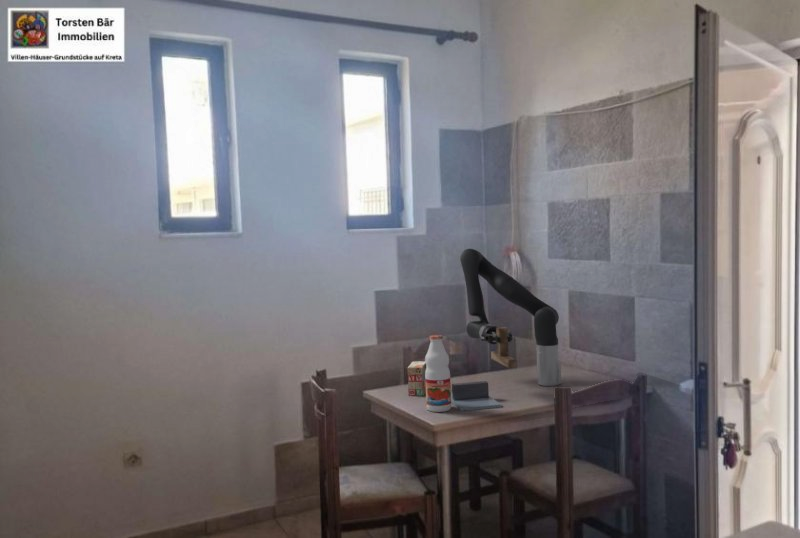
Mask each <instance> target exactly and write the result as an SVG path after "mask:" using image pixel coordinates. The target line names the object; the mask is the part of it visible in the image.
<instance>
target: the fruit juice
mask: <svg viewBox="0 0 800 538" xmlns="http://www.w3.org/2000/svg"><path fill="white" fill-rule="evenodd" d="M443 339H444V337H443V335H442V334H431V335H429V341H430V343H429V346H428V348H427V349H428V350H427V353H426V354H425V357H424V361H425V363H426V366H427V368H426V371H425V382H426V393H425V402H426V405H425V406H426V410H427V411H429V412H432V413H442V412H448V411H450V410H451V409H452V403H451V392H452V385H451V372H450V368H449V362H450V357H449V354H448V353H447V351H446V349H445V346H444V343H443Z"/></svg>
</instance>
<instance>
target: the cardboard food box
mask: <svg viewBox="0 0 800 538" xmlns="http://www.w3.org/2000/svg"><path fill="white" fill-rule="evenodd" d="M426 368H427V366H426V363H425V360H424V361H421V360H420V361H419V360H418V361H411V363H410V364H409V365H408V367H407V382H408V383H407V384H408V388H407V389H408V390H407V391H408V393H407V394H408V397H424V395H426V382H425V371H426Z"/></svg>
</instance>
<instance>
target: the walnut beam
mask: <svg viewBox="0 0 800 538" xmlns="http://www.w3.org/2000/svg"><path fill="white" fill-rule="evenodd" d="M497 327H498V326H497ZM508 331H509V330H508V327H505V326H503V327H502V326H501V327H500V326H499V327H498V328H496V336H498V337H500V338H501V343H498V342H497V344H496V350H493V351H492V350H491V351H490V357H491V358H490V359H491V360H493V361H495V362H497V363H499V364H500V365H502V366H504V367H506V368H507V369H512V368H516V367H517V363H516V361H517V360H516V358H513V357H511V356H510V354H509V342H508V333H509V332H508Z"/></svg>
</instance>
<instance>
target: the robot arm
mask: <svg viewBox="0 0 800 538" xmlns="http://www.w3.org/2000/svg"><path fill="white" fill-rule="evenodd" d="M459 259H460V264H461V267H462V272H463V276H464V281H465V287H466V295H467V307H468V314H469V315H470V316H472V317H477V318H479V320H477V321H475V320H474V321H469V322H468V323H467V325H466V327H465V328H466V329H465V330H466V334H467V335H468V336H469V337H470V338H471V339H472V338H473V339H480V341H481V342H486V343H488V344H491V345H497V342H498V343H501V338H500V337H498V336H496V328H498V326H496V325H493V324H490V322H489V320H488V317H487V314H486V311H485V302H484V295H483V291H482V287H481V283H480V278H479V277H481V278H483V279H484V280H485V281H486V282H487V283H488V284H489V285H490V286H491V287H492V289H494V291H495V292H496V293H498V294H499V295H500V296H502V298H504V299H505V300H507V301H508V302H510V303H512V304H514V305H515V306H518V307H520V308H522V309H524V310H526V311H527V312H528V313H529V314H530V315H532V317H533V328H534V337H535V338H534V339H535V345H536V346H535V349H536V375H537V376H536V377H537V378H536V380H537V381H536V382H537V385H538V386H542V387H543V386H545V387H553V386H554V387H555V386H558V385H562V369H561V368H562V364H561V361H559V355H560V354H559V338H558V336H557V324H558V322H559V320H560V317H559V316H560V315H559V313H558V311H557V310H556V309H555V308H554V307H552V306H551V305H549V304H547V303H545V302H544V301H542V300H541V299H539V298H538V297H536V296H535V295H534V294H533V293H532V292H531V291H529V290H528V288H526V287H525V286H523V285H522V283H520V282H519V281H518V280H516V279H515V278H514V277H513V276H511V275H509V274H508V273H507V272H505V271H503V270H501V269H500V268H498V267H497V266H496V265H494V264H493V263H491V262H490V261H489V260H488V259H487V258H486V257H485V256H484V255H483V254H482V253H481V252H480V251H478V250H476V249H473V248H467V249H464V250H463V251H462V252H461V254H460V258H459ZM512 341H513V332H512V331H509V332H508V343H511V342H512Z"/></svg>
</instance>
